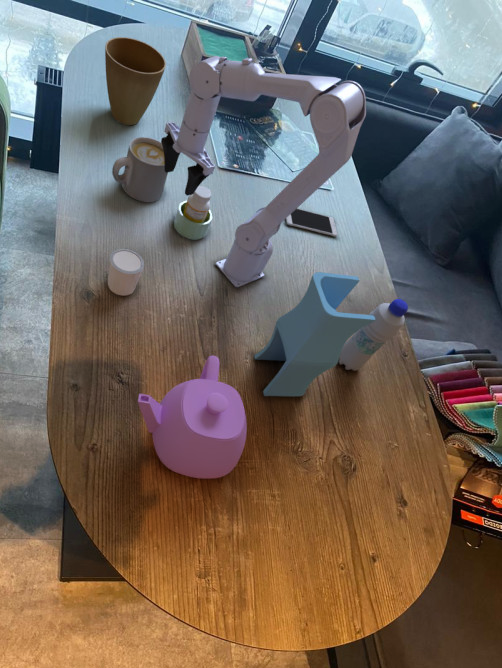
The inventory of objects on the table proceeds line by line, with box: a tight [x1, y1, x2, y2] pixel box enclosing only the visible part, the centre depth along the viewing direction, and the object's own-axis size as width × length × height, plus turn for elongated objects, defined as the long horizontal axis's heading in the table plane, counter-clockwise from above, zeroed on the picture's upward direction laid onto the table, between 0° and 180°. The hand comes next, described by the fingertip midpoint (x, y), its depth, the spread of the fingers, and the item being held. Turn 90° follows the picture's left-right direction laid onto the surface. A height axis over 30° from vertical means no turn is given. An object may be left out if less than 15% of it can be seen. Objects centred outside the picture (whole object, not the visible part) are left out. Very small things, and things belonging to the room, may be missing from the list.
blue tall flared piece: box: [253, 271, 376, 397], centre depth 95 cm, size 10×10×25 cm
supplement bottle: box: [183, 185, 212, 223], centre depth 116 cm, size 5×5×10 cm
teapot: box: [137, 355, 248, 480], centre depth 85 cm, size 20×20×15 cm
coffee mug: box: [111, 136, 169, 203], centre depth 118 cm, size 13×10×10 cm
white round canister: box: [107, 248, 145, 296], centre depth 102 cm, size 7×7×7 cm
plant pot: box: [104, 36, 167, 126], centre depth 129 cm, size 15×15×16 cm
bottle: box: [338, 298, 409, 372], centre depth 105 cm, size 7×7×20 cm
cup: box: [173, 199, 213, 241], centre depth 119 cm, size 8×8×4 cm
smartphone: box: [285, 207, 338, 237], centre depth 136 cm, size 8×1×15 cm
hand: (178, 182), depth 111 cm, fingers open, 7 cm apart
